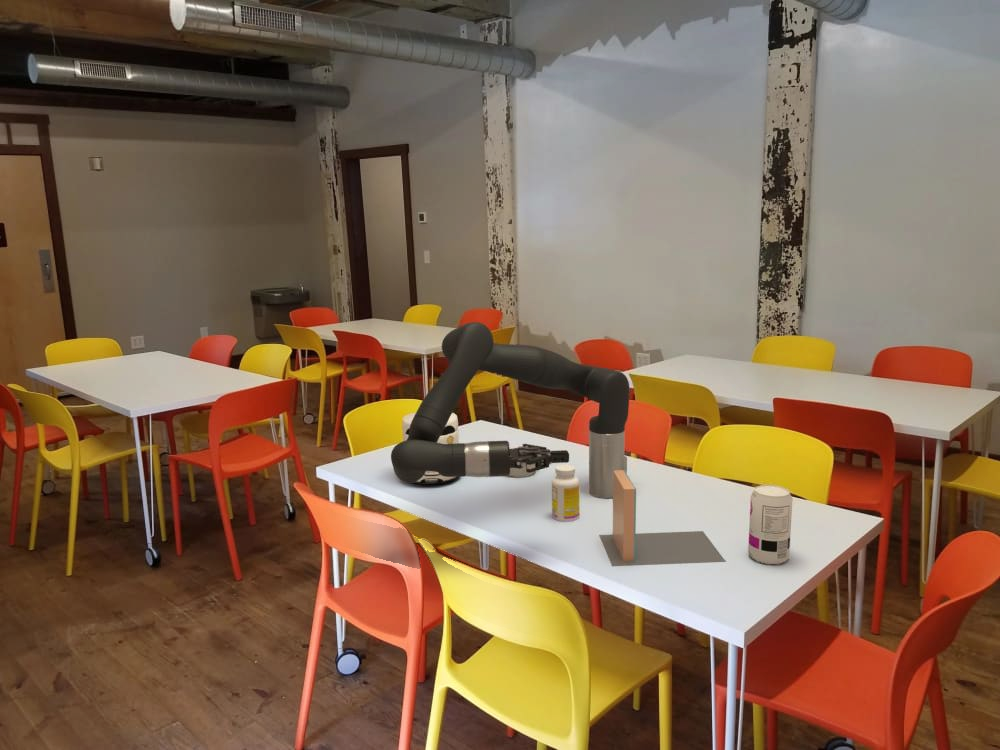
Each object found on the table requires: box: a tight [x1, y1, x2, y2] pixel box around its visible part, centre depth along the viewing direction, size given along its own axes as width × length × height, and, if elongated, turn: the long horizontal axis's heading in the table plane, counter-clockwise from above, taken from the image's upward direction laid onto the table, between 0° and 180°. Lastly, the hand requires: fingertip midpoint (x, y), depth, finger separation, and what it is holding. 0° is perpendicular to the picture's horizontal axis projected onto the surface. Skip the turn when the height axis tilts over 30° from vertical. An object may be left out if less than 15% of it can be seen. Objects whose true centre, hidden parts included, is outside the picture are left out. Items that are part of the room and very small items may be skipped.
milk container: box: [401, 411, 460, 485], centre depth 215 cm, size 17×17×18 cm
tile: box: [612, 470, 637, 561], centre depth 166 cm, size 2×12×16 cm, turn 2°
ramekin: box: [508, 468, 536, 478], centre depth 220 cm, size 11×11×5 cm
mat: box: [598, 530, 727, 567], centre depth 168 cm, size 24×16×1 cm, turn 92°
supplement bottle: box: [551, 464, 580, 523], centre depth 185 cm, size 7×7×13 cm
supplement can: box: [747, 484, 793, 565], centre depth 161 cm, size 8×8×15 cm
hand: (568, 456), depth 162 cm, fingers closed
